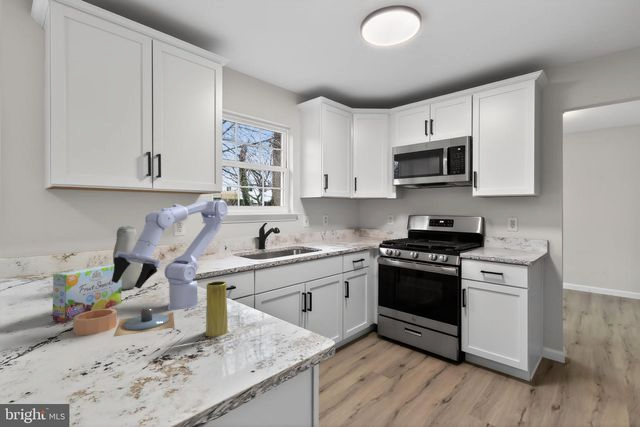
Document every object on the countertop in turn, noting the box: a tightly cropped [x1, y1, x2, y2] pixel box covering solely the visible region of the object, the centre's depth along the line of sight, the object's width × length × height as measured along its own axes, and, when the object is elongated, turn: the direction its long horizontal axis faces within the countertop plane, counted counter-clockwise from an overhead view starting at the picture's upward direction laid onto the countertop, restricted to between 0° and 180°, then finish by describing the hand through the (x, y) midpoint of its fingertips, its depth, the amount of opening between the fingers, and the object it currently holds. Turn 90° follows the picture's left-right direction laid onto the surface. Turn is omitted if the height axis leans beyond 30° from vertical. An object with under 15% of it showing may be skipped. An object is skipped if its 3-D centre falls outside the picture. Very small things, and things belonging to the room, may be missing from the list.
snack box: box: [52, 263, 122, 323], centre depth 107 cm, size 21×6×15 cm, turn 168°
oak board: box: [113, 311, 175, 337], centre depth 95 cm, size 15×15×1 cm
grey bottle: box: [112, 225, 142, 290], centre depth 138 cm, size 10×10×28 cm
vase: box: [204, 280, 229, 338], centre depth 87 cm, size 6×6×14 cm
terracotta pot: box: [72, 308, 118, 336], centre depth 91 cm, size 10×10×4 cm
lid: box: [123, 306, 169, 330], centre depth 95 cm, size 12×12×4 cm
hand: (125, 284), depth 95 cm, fingers open, 7 cm apart
